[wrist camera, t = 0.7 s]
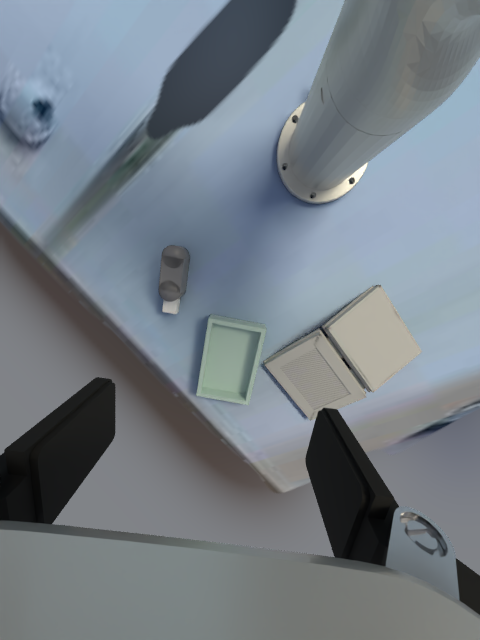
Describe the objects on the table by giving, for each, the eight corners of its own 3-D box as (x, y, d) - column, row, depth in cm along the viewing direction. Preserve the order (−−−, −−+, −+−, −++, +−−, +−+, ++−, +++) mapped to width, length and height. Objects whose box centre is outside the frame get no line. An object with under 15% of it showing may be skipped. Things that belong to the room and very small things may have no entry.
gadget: (374, 282, 36) (388, 285, 33) (417, 349, 39) (434, 358, 36) (262, 360, 41) (264, 369, 37) (308, 415, 44) (313, 429, 40)
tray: (210, 314, 38) (208, 318, 35) (265, 324, 38) (266, 329, 36) (199, 387, 42) (196, 395, 39) (248, 396, 42) (248, 405, 39)
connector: (171, 244, 35) (162, 243, 31) (191, 248, 35) (185, 247, 32) (164, 307, 38) (156, 312, 34) (183, 311, 38) (177, 316, 34)
